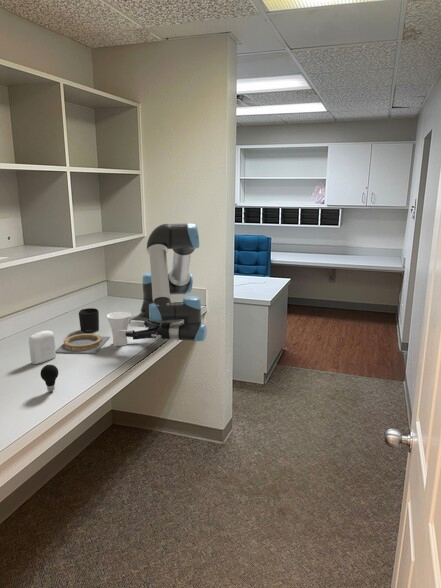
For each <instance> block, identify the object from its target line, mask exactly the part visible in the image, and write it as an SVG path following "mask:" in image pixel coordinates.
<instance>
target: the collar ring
mask: <svg viewBox="0 0 441 588" xmlns="http://www.w3.org/2000/svg"><path fill="white" fill-rule="evenodd" d="M101 336H102V335H100V334H96V333H79V334H74V335H71V336H68V337H66V338H65V339H64V340H63V344H64V346H65V348H66V349H69V350H78V351H81V350H88V349H93V348H95V347H98V346H100V345H101V343H102V338H101ZM79 339H94V340H97V341H96V342H93V343H90V344H84V345H73V344H70V342H72V341H75V340H79Z"/></svg>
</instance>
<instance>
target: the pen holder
mask: <svg viewBox="0 0 441 588" xmlns="http://www.w3.org/2000/svg"><path fill="white" fill-rule="evenodd" d="M99 315H100V314H99V310H98V309H97V308H95V307H94V308H92V307H91V308H83V309H80V311H78V319H79V327H80V328H79V329H80V331H81V333H82V334H94V333H96V332H99V329H100V316H99Z"/></svg>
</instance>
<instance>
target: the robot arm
mask: <svg viewBox="0 0 441 588" xmlns="http://www.w3.org/2000/svg"><path fill="white" fill-rule="evenodd" d="M199 248H200V238H199V229H198V226H197V224H195V223H189V222H188V223H187V222H186V223H163V224H160V225H158V226H157V227H155V228H154V229H153V230H152V232H151V233H150V235H149V237H148V240H147V242H146V253H147V254H148V255H149V264H150V271H149V272H146V273H144V274H143V276H142V282H141V284H142V297H143V298H142V303H141V307H140V315H141V316H142V317H145V318H149V319H147V320H129V322H130V327H135V328H145V329H143V330H136V331H135V330H134V329H133V330H128V329H127V330H119V336H122V337H127V338H132V340H143V339H144V340H145V339H156V338H157V336H159V337H161V339H162V340H173V341H174V340H176V342H178V341H188V342H204V341H205V340H206V337H207V331H208V330H207V325H206V324H203V323H202V318H201V317H202V306H201V305H202V304H201V303H202V302H201V298H200V297H198V296H196V295H189V296H185V297H183V300H182V301H179V302H178V301H177V302H176V301H175V302H171V295H188V294H190V293H191V291H192V289H193V283H194V282H193V281H194V280H193V275H192V273H191V272H189V271H190V270H189V269H190V265H191V264H190V263H191V257H192V254H193V252H195V250H196V249H199ZM169 250H172V251H173V257H172V265H171V266H172V267H171V270H170V271H169V270H168V259H167V257H168V256H167V253H168V252H169ZM168 271H169V272H168ZM181 320H182V321H183V322H175V321H181ZM168 321H169V322H168ZM170 321H173V322H170Z"/></svg>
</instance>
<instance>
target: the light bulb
mask: <svg viewBox="0 0 441 588" xmlns="http://www.w3.org/2000/svg"><path fill="white" fill-rule="evenodd" d="M58 376H59V369H58V368H57V366H56V365H55V364H46V365H44V366H43V367H41V369H40V377H41V379H42V380H43V381H44V382H45V385H46V388H47V389H46V390H47V391H48V392H50V393H53V391H55V388H56V381H57V379H58Z"/></svg>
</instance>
